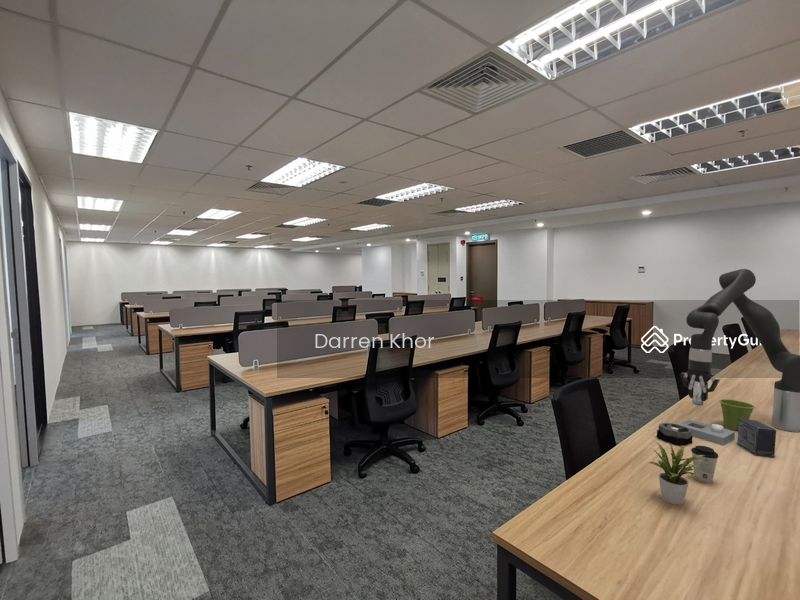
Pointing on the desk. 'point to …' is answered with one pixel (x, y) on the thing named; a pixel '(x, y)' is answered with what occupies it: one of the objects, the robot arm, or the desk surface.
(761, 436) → the small box
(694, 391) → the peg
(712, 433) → the peg board
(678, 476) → the house plant
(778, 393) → the robot arm
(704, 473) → the coffee cup
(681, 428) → the cpu cooler
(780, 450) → the desk surface
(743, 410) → the plant pot
